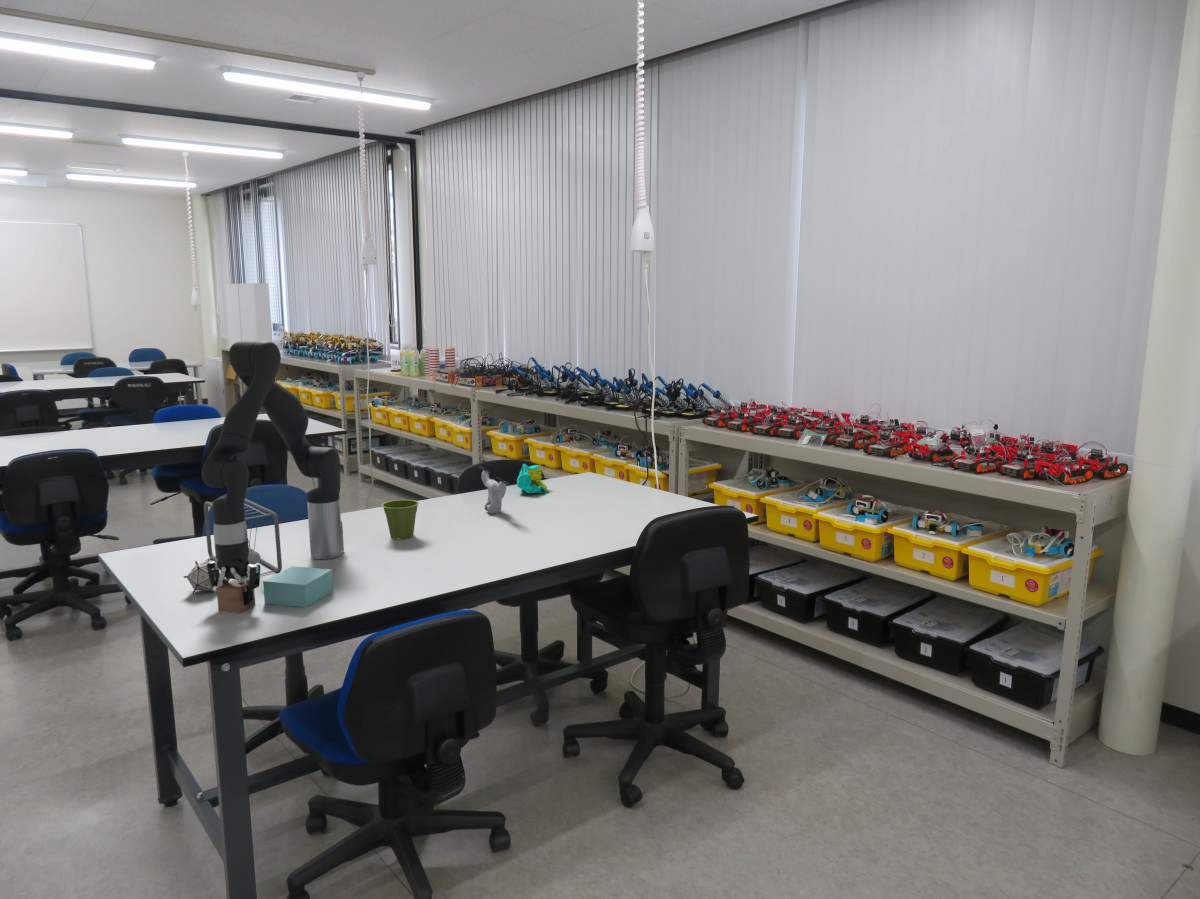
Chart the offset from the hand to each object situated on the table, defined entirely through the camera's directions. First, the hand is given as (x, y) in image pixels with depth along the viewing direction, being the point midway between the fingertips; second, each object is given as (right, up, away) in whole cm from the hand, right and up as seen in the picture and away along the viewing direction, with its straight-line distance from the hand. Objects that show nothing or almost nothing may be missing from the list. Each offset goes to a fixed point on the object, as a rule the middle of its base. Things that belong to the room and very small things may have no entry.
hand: (236, 603), depth 199 cm
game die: (-14, +1, +12) cm, 18 cm away
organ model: (+63, +21, +123) cm, 140 cm away
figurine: (+52, +15, +91) cm, 106 cm away
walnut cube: (0, -1, 0) cm, 1 cm away
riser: (+13, 0, +7) cm, 15 cm away
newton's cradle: (-13, +4, +33) cm, 35 cm away
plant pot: (+26, +10, +61) cm, 67 cm away
